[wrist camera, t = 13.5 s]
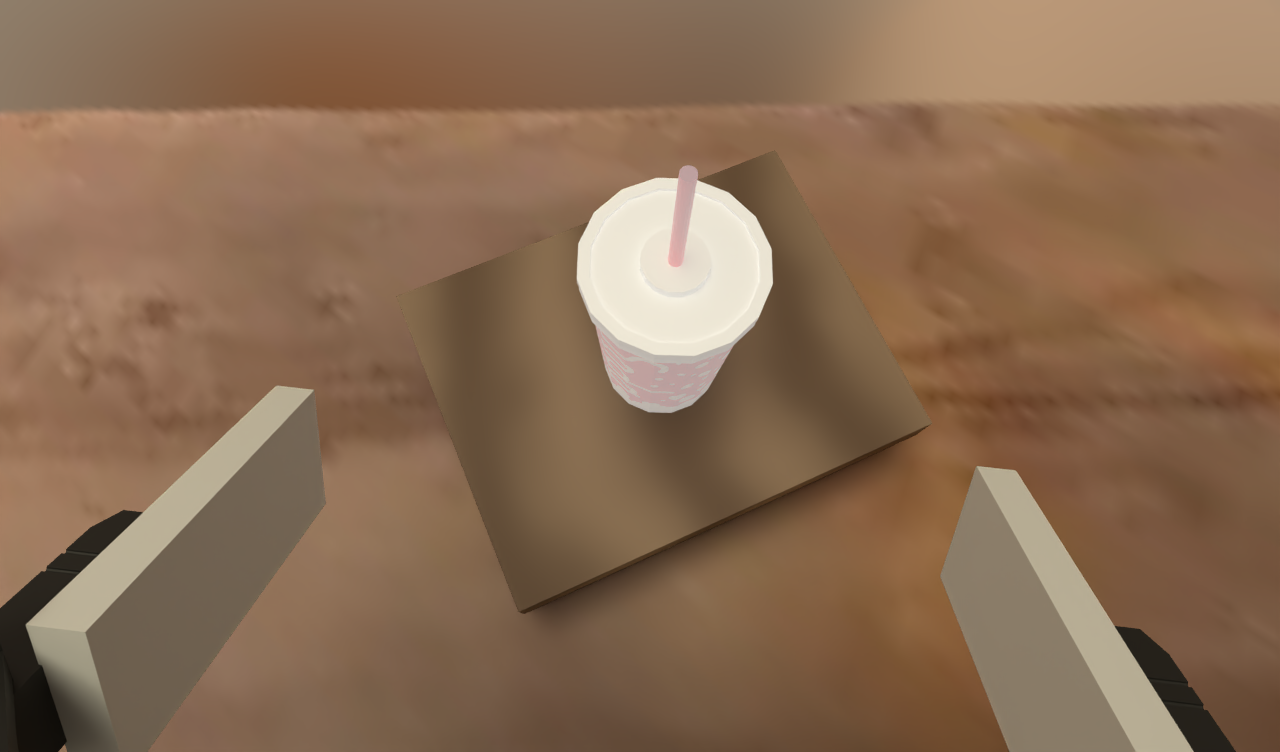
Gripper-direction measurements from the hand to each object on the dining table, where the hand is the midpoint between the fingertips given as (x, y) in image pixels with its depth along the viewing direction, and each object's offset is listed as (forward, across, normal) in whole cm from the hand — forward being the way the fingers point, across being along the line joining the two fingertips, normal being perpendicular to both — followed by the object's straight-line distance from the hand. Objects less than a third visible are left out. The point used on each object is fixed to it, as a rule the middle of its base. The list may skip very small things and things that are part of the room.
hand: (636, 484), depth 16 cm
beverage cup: (+17, 0, -5) cm, 18 cm away
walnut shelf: (+20, 0, -8) cm, 22 cm away
